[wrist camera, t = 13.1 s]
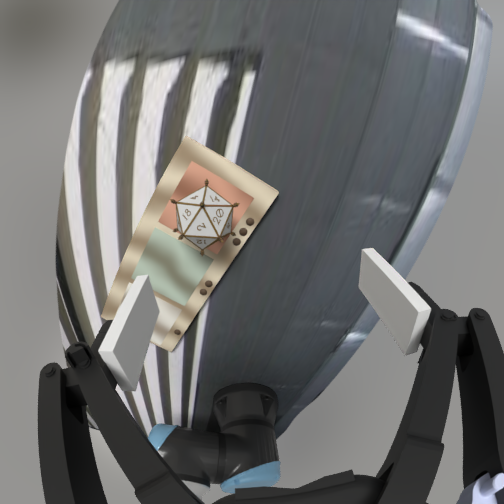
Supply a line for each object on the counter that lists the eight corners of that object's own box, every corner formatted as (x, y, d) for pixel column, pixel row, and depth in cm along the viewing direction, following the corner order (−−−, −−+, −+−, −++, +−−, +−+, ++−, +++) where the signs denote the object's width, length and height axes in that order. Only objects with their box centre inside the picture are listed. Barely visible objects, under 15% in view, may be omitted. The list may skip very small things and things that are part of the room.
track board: (172, 347, 50) (171, 352, 49) (103, 312, 46) (100, 316, 45) (277, 190, 39) (279, 192, 38) (186, 136, 35) (185, 136, 34)
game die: (204, 190, 41) (200, 155, 31) (248, 225, 40) (257, 197, 31) (163, 234, 39) (147, 209, 29) (208, 272, 38) (204, 258, 29)
